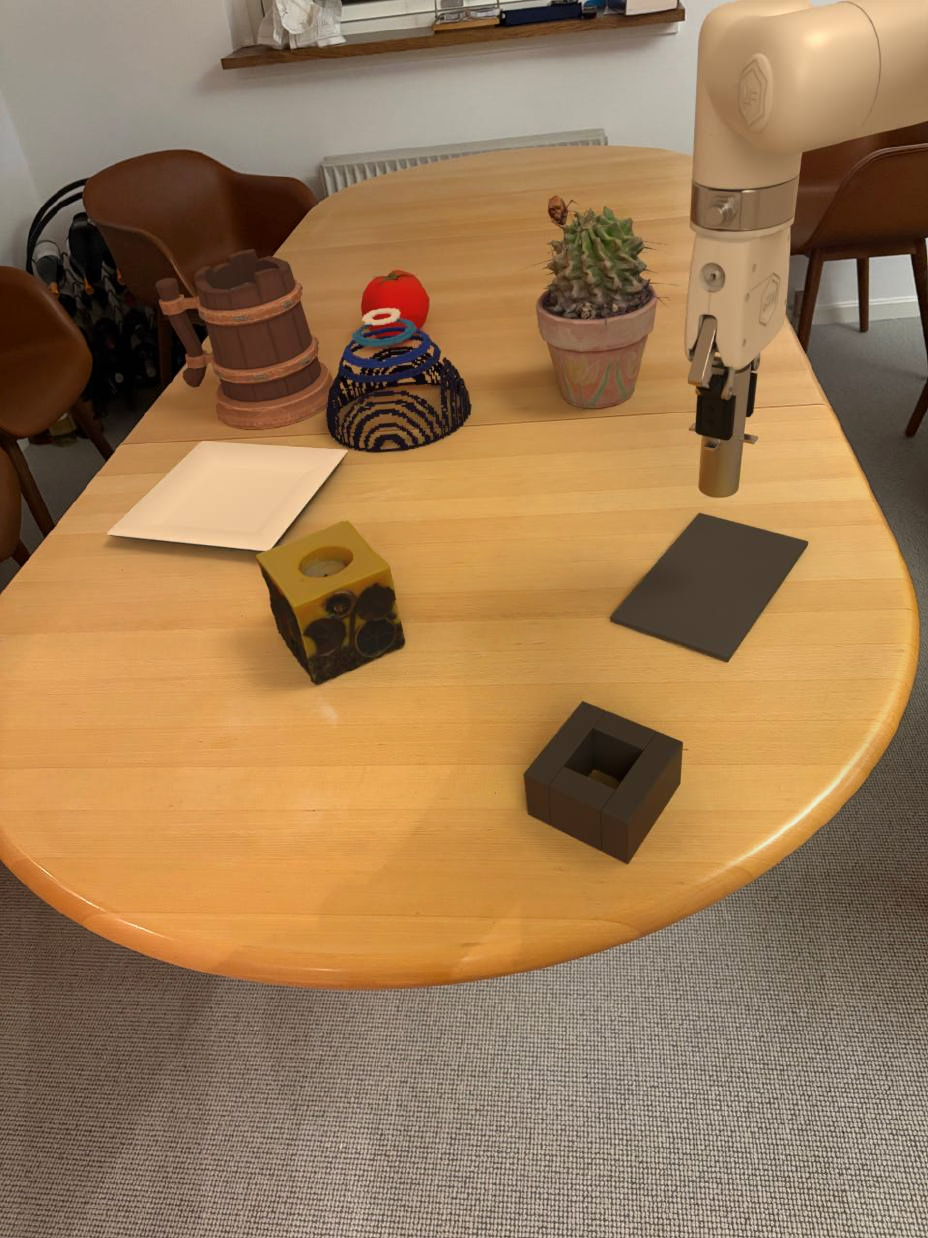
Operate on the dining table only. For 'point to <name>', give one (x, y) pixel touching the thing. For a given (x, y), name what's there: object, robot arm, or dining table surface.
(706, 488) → the bronze metal rod
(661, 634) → the mat
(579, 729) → the dark square ring block
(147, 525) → the plate
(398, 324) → the tomato
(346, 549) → the candle
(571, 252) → the potted plant
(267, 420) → the mug
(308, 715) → the dining table surface
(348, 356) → the decorative bowl
